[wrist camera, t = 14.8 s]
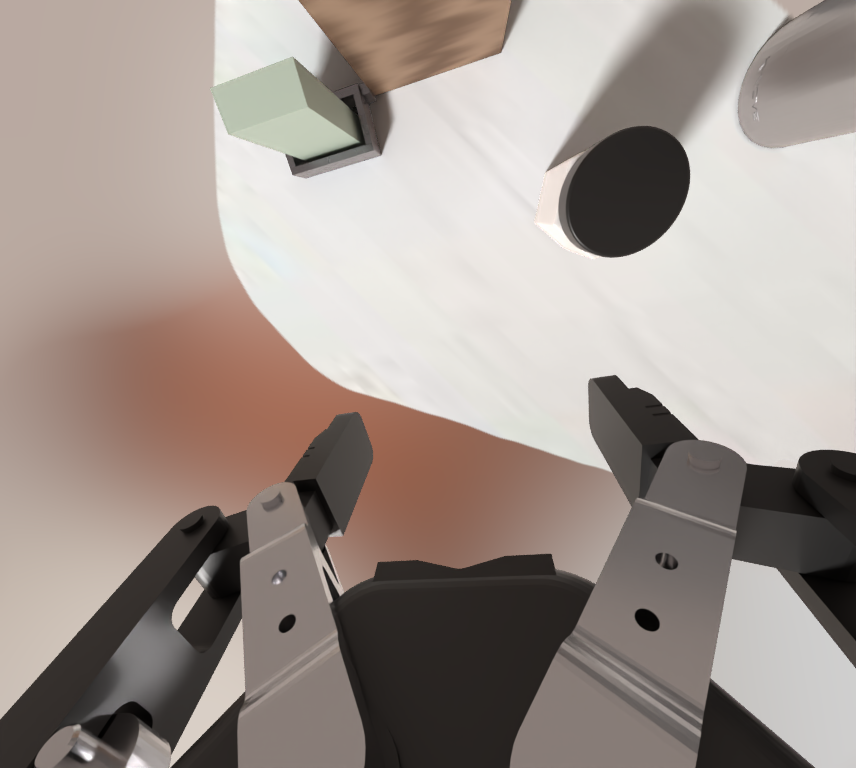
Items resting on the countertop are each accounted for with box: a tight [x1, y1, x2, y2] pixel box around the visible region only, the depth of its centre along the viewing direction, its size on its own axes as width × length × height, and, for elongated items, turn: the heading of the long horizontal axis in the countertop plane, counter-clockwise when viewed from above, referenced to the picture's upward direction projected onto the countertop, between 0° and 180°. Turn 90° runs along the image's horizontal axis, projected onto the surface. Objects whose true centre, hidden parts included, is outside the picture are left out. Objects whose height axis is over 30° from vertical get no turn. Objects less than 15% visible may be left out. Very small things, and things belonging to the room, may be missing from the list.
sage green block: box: [210, 57, 366, 162], centre depth 27 cm, size 6×4×14 cm, turn 103°
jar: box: [534, 126, 690, 259], centre depth 29 cm, size 9×8×12 cm
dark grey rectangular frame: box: [286, 83, 381, 178], centre depth 32 cm, size 9×5×3 cm, turn 103°
